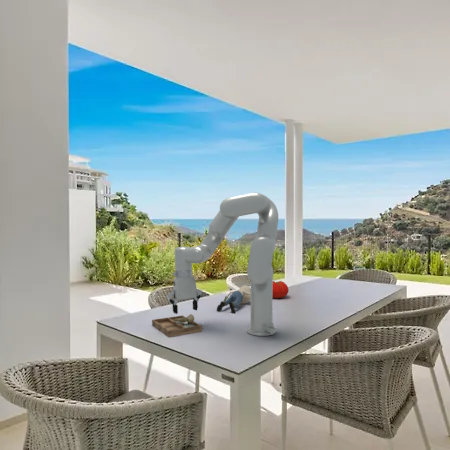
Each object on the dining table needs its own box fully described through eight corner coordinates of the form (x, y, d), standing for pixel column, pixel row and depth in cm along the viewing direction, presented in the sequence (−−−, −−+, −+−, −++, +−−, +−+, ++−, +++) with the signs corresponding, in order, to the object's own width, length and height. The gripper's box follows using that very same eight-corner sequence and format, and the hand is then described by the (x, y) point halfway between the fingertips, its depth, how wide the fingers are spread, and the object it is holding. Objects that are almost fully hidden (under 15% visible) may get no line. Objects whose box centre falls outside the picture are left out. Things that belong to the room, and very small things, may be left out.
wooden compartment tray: (201, 331, 165) (201, 325, 165) (169, 337, 157) (168, 331, 157) (182, 320, 183) (182, 315, 183) (152, 325, 175) (152, 319, 175)
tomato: (285, 294, 245) (285, 279, 245) (290, 300, 229) (290, 283, 228) (263, 294, 244) (263, 279, 244) (266, 300, 228) (266, 283, 228)
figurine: (171, 326, 176) (191, 325, 165) (170, 316, 177) (189, 314, 166) (177, 324, 179) (197, 323, 168) (176, 315, 179) (196, 313, 169)
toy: (246, 319, 193) (266, 302, 220) (245, 300, 193) (266, 285, 219) (206, 314, 204) (230, 299, 231) (205, 295, 203) (229, 282, 230)
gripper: (169, 276, 164) (170, 316, 164) (204, 272, 173) (206, 310, 173) (163, 275, 170) (164, 313, 170) (197, 271, 179) (198, 307, 179)
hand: (185, 311), depth 172 cm, fingers open, 9 cm apart
